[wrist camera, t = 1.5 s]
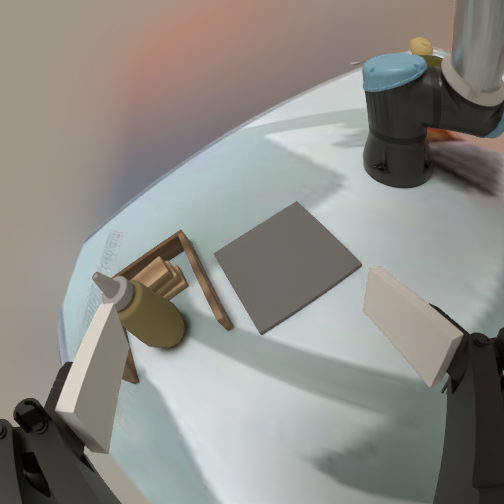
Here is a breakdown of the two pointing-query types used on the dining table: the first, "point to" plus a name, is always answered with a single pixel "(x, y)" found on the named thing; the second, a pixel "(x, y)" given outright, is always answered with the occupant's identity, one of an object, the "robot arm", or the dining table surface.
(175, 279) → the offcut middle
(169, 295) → the offcut low
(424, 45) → the tan round lump
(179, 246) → the walnut open frame
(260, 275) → the charcoal mat
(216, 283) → the dining table surface
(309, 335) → the dining table surface
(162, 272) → the offcut top
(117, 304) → the squeeze bottle
